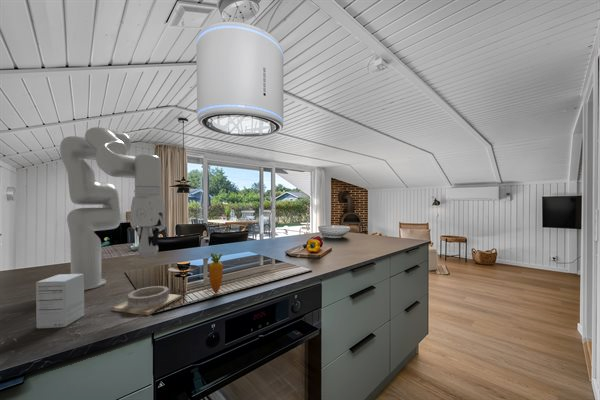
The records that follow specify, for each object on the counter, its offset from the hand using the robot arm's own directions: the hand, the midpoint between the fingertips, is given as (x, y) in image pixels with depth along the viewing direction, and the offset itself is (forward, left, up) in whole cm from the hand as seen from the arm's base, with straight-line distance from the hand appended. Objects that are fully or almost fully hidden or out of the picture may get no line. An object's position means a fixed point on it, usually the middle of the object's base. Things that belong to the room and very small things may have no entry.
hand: (148, 247), depth 84 cm
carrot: (+16, +14, -19) cm, 28 cm away
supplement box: (-13, -17, -19) cm, 28 cm away
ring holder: (0, 0, -19) cm, 19 cm away
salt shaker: (0, 0, -3) cm, 3 cm away
